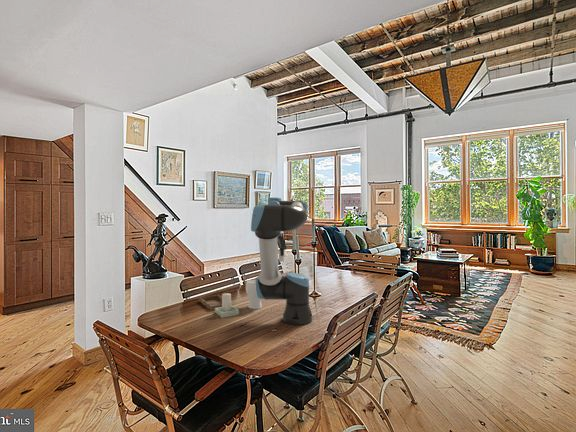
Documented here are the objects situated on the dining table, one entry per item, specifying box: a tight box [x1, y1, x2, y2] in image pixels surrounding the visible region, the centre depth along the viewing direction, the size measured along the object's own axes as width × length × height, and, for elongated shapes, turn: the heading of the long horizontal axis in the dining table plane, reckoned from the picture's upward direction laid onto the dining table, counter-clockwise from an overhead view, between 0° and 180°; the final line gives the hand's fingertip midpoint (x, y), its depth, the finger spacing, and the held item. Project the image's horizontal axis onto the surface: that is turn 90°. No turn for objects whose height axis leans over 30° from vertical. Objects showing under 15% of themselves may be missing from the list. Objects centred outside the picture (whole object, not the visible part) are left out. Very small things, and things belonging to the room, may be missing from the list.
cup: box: [245, 279, 263, 310], centre depth 193 cm, size 11×11×15 cm
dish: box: [214, 304, 240, 319], centre depth 181 cm, size 10×10×2 cm
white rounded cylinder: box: [221, 292, 232, 312], centre depth 181 cm, size 5×5×10 cm
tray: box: [198, 294, 222, 312], centre depth 197 cm, size 21×12×3 cm, turn 32°
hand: (274, 259), depth 199 cm, fingers open, 13 cm apart
